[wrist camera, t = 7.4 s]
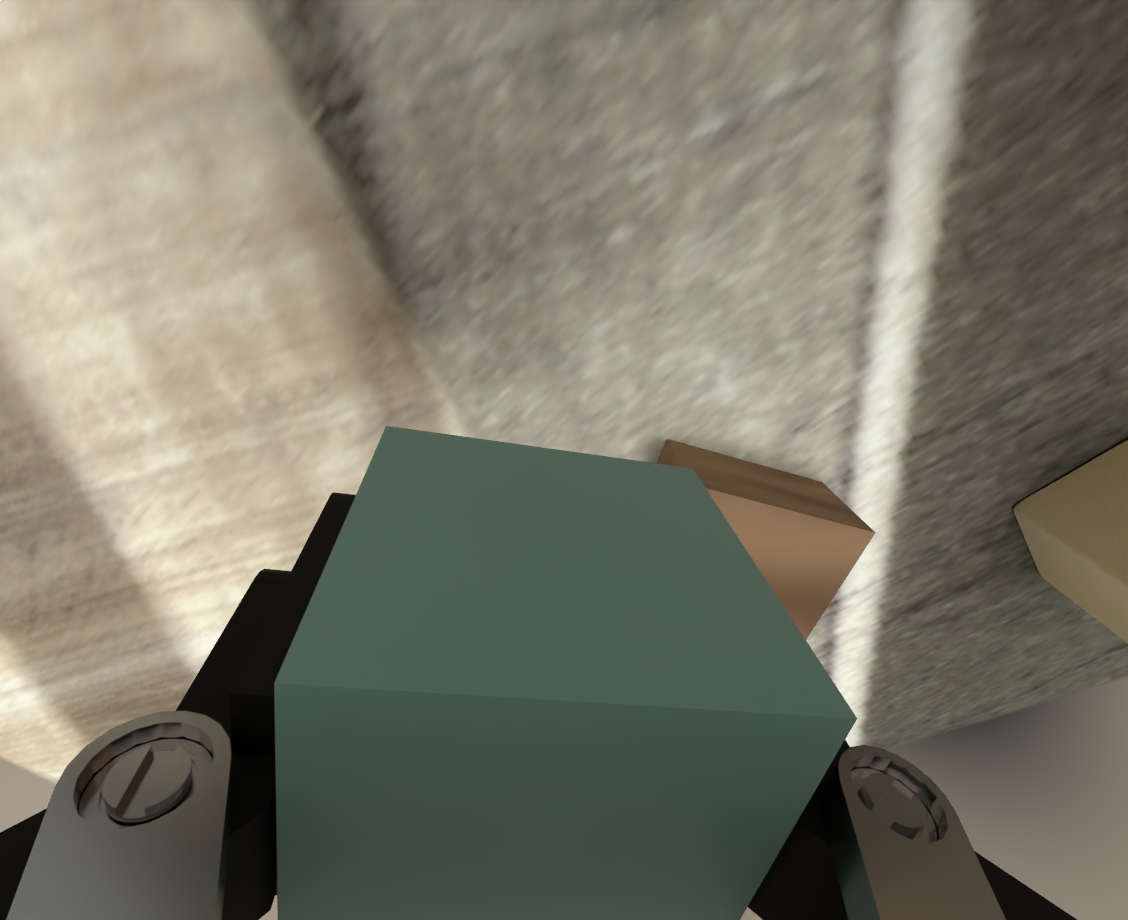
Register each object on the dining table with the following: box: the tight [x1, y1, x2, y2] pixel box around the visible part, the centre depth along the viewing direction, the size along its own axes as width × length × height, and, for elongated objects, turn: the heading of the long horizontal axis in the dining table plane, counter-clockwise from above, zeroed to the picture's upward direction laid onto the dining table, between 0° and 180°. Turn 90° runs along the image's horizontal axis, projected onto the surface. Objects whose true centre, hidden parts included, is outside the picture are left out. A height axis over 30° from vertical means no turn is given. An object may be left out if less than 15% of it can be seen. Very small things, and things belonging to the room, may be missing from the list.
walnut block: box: [657, 439, 875, 640], centre depth 29 cm, size 9×9×5 cm
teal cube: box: [274, 426, 857, 920], centre depth 8 cm, size 5×5×5 cm
